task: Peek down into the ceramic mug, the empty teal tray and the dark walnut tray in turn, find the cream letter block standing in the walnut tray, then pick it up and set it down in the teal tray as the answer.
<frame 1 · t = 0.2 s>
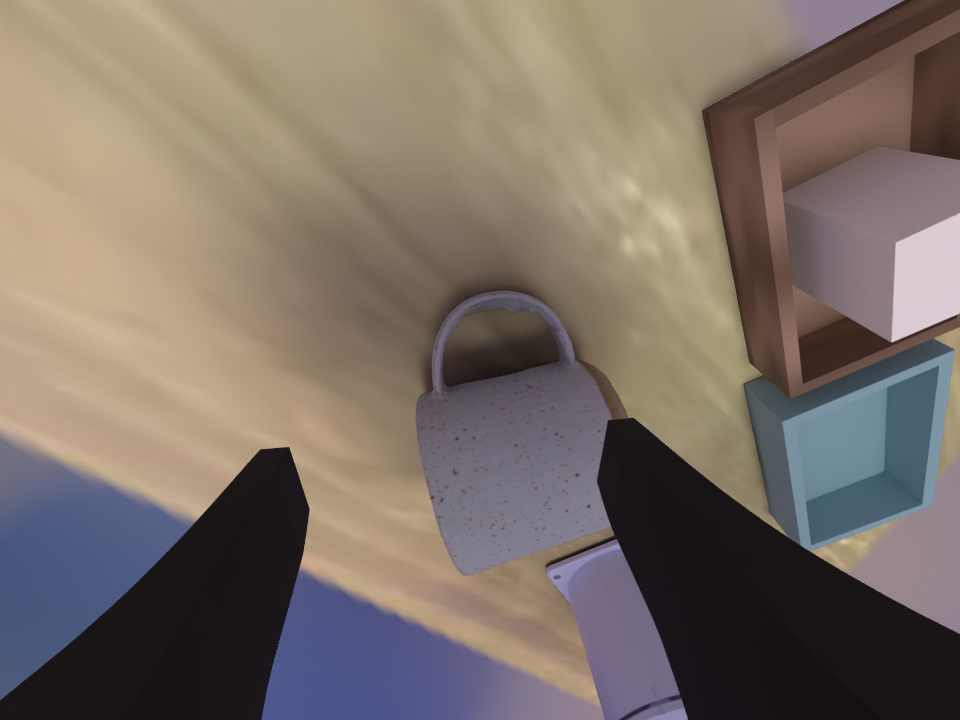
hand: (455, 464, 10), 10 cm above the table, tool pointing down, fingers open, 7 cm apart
letter block: (826, 217, 19), resting on walnut tray
teal tray: (823, 430, 26), on the table
ceramic mug: (499, 382, 22), on the table
walnut tray: (819, 215, 19), on the table
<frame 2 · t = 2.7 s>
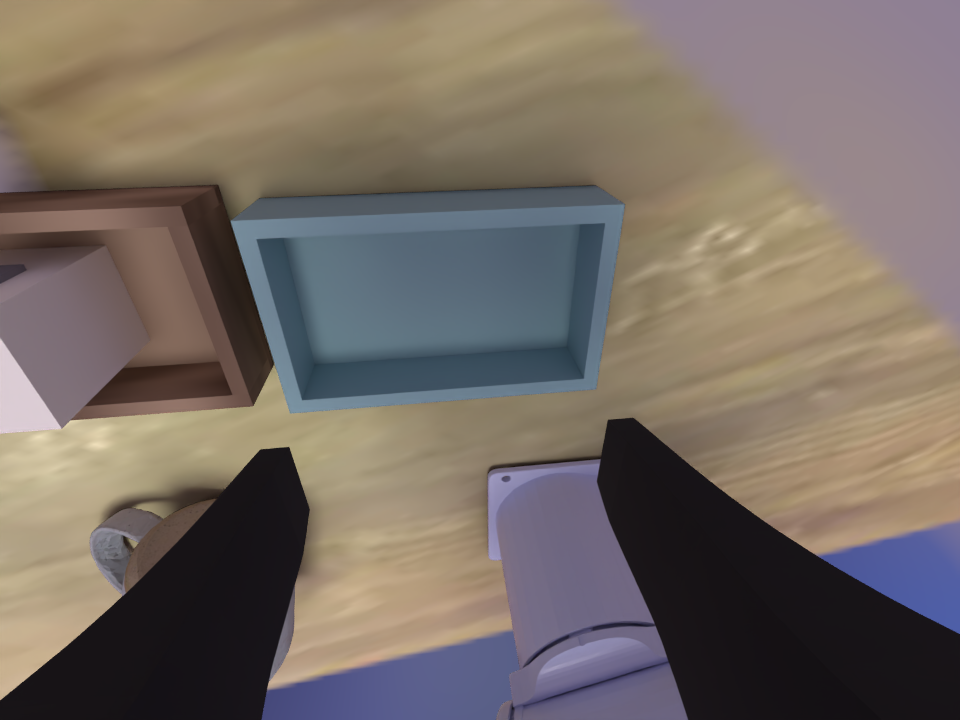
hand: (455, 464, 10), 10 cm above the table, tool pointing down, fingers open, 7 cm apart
letter block: (74, 298, 17), resting on walnut tray
teal tray: (439, 286, 19), on the table
ceramic mug: (217, 533, 26), on the table
walnut tray: (80, 294, 18), on the table
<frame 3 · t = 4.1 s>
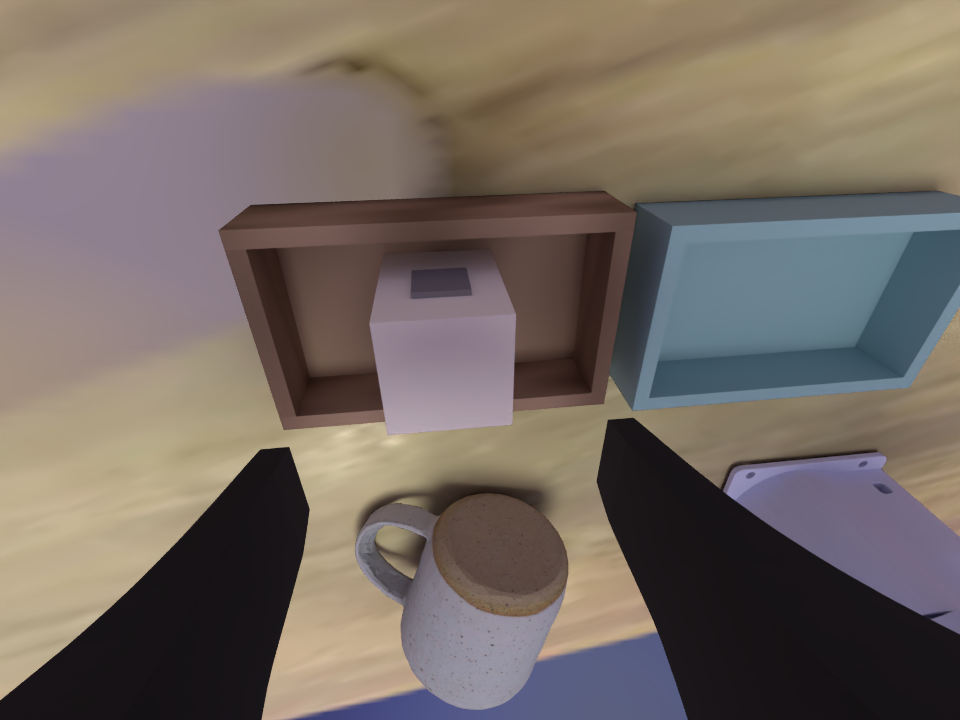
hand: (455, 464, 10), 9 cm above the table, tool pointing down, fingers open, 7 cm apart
letter block: (440, 300, 18), resting on walnut tray
teal tray: (759, 287, 20), on the table
ceramic mug: (453, 528, 27), on the table
walnut tray: (440, 295, 18), on the table
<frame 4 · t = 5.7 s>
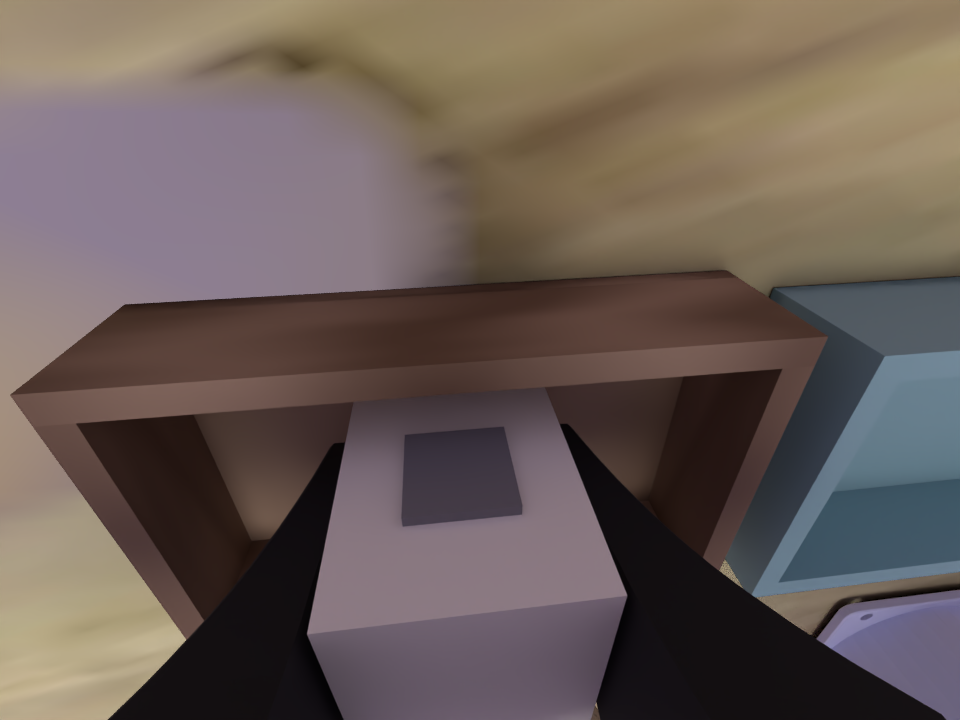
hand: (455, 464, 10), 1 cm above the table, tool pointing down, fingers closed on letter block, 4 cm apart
letter block: (452, 435, 11), resting on walnut tray, touching gripper
teal tray: (933, 398, 13), on the table
walnut tray: (451, 425, 12), on the table
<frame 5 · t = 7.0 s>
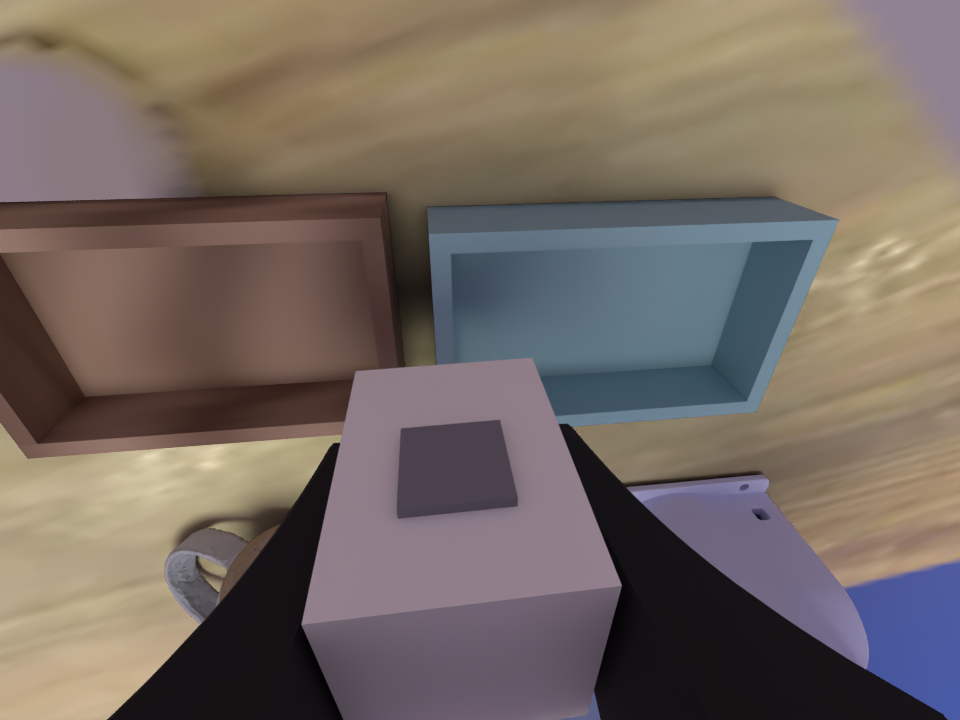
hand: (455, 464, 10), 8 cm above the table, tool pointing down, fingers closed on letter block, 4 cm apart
letter block: (450, 430, 11), point 7 cm above the table, touching gripper
teal tray: (592, 301, 18), on the table
ceramic mug: (291, 553, 25), on the table
walnut tray: (220, 307, 16), on the table
when the fingers open (3 cm above the table, at t = 8.8 s): letter block drops 1 cm, resting on teal tray.
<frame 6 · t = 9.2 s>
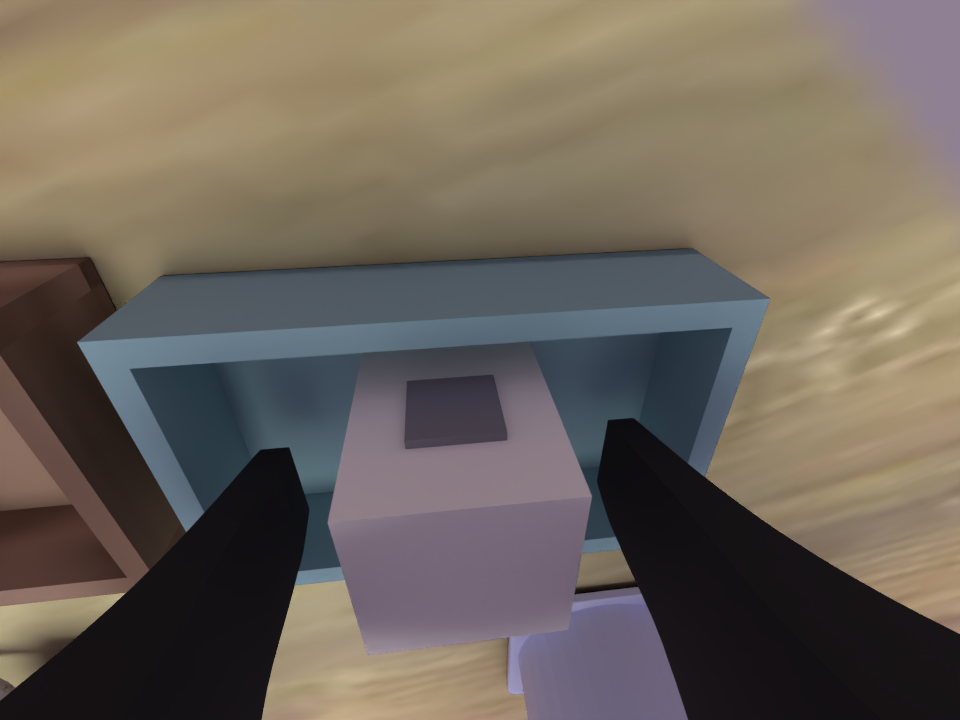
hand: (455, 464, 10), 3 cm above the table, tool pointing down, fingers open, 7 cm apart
letter block: (449, 395, 12), resting on teal tray
teal tray: (448, 390, 13), on the table
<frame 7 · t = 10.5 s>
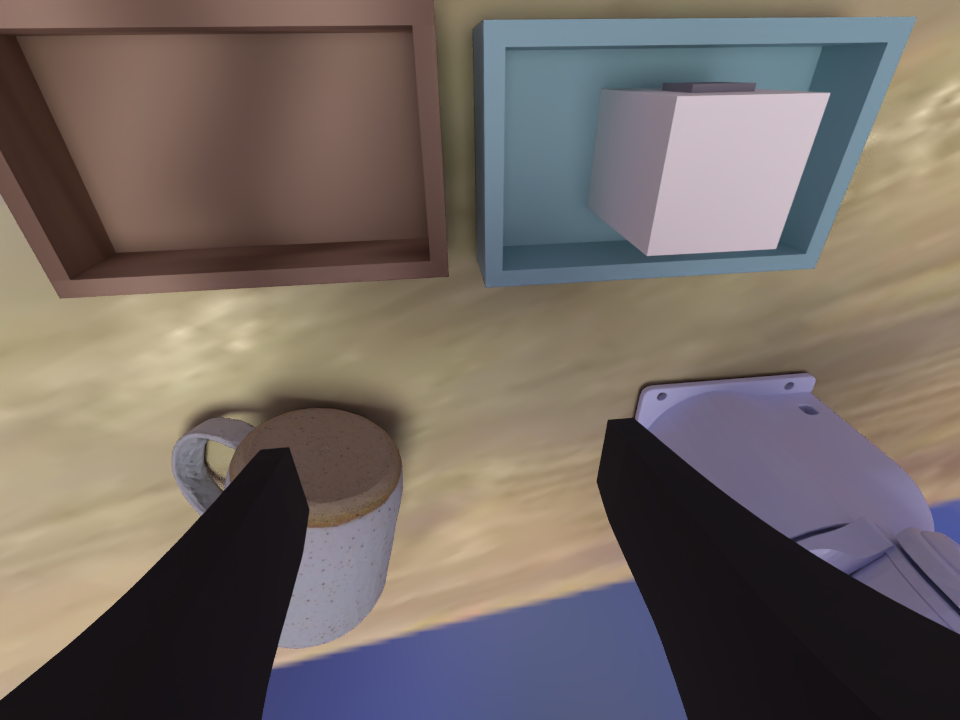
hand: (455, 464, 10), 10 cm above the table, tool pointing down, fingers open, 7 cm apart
letter block: (646, 150, 17), resting on teal tray
teal tray: (640, 152, 17), on the table
ceramic mug: (302, 456, 24), on the table
walnut tray: (256, 149, 16), on the table
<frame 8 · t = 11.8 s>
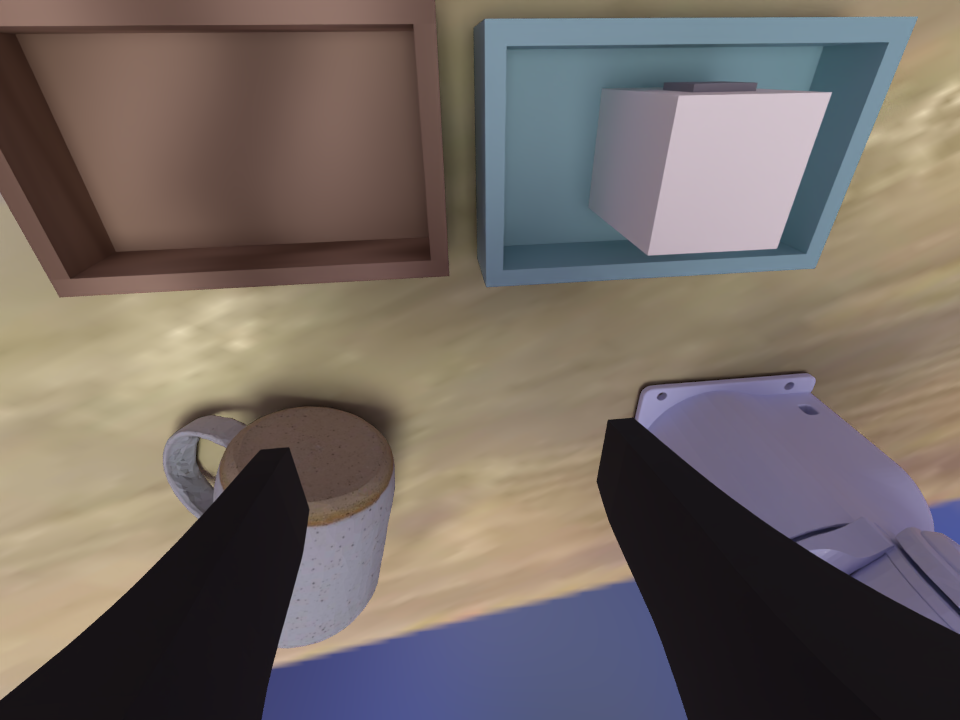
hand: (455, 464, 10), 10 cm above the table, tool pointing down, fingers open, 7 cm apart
letter block: (646, 150, 17), resting on teal tray
teal tray: (641, 152, 17), on the table
ceramic mug: (295, 455, 24), on the table
walnut tray: (256, 148, 16), on the table
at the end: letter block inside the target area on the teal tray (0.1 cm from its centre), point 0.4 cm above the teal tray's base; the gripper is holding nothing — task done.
